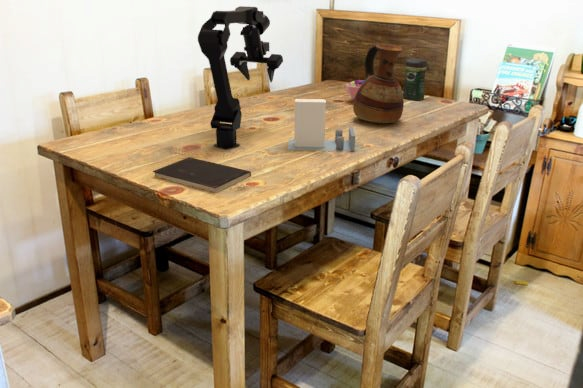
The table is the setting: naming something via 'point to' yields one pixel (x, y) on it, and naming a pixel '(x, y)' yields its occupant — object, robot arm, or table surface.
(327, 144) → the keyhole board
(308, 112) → the panel
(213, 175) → the hardcover book
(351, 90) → the cell model
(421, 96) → the coffee jar
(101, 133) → the table surface
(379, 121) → the ceramic pitcher
